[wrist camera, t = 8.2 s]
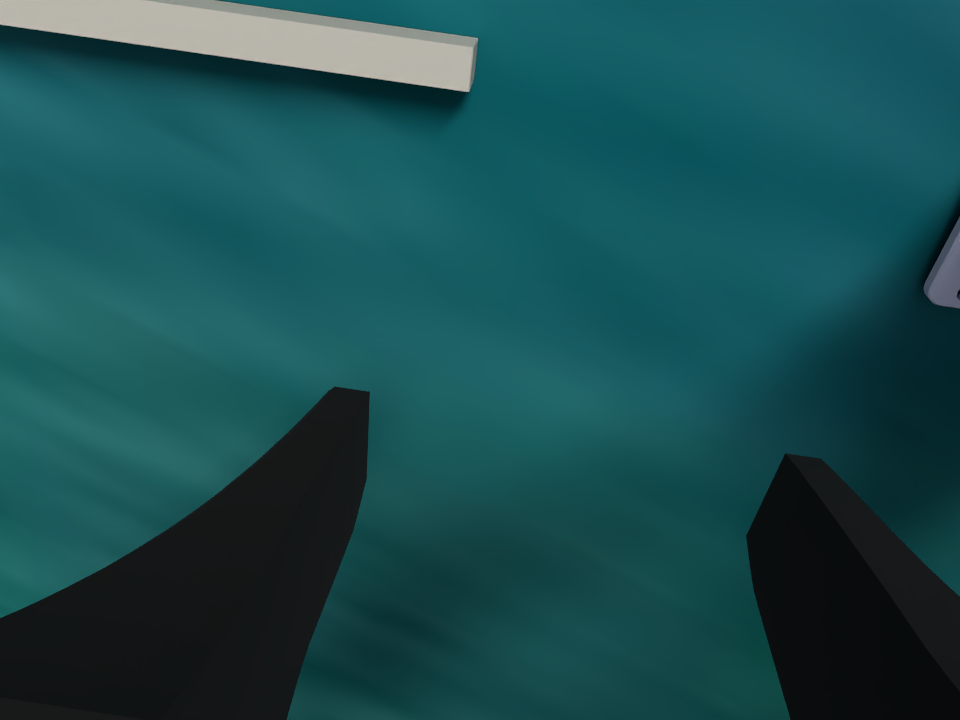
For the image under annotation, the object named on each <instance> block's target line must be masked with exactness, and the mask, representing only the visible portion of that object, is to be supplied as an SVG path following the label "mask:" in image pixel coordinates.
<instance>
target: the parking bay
mask: <svg viewBox="0 0 960 720" xmlns="http://www.w3.org/2000/svg"><path fill="white" fill-rule="evenodd" d="M0 25H7V26H14V27H21V28H28V29H35V30H41V31H48V32H55V33H62V34H69V35H76V36H83V37H90V38H97V39H104V40H111V41H118V42H125V43H132V44H139V45H145V46H152V47H159V48H166V49H173V50H180V51H187V52H194V53H201V54H208V55H215V56H222V57H229V58H236V59H243V60H249V61H256V62H263V63H270V64H277V65H284V66H291V67H298V68H305V69H312V70H319V71H326V72H333V73H340V74H347V75H353V76H360V77H367V78H374V79H381V80H388V81H395V82H402V83H409V84H416V85H423V86H430V87H437V88H444V89H451V90H457V91H464V92H469V91H470V88H471V86H472V83H473V81H474V73H475V64H476V54H477V45H478V38H474V37H467V36H460V35H453V34H446V33H439V32H432V31H425V30H418V29H411V28H404V27H397V26H390V25H383V24H376V23H369V22H362V21H355V20H348V19H341V18H334V17H327V16H320V15H313V14H306V13H299V12H292V11H285V10H278V9H271V8H265V7H258V6H251V5H244V4H237V3H230V2H223V1H216V0H0Z"/></svg>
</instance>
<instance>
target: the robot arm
mask: <svg viewBox="0 0 960 720" xmlns="http://www.w3.org/2000/svg"><path fill="white" fill-rule="evenodd" d="M959 290H960V217H959V219H958V221H957V223H956V225H955V227H954V228H953V230H952V232H951V234H950V236H949V238H948V240H947V242H946V244H945V246H944V247H943V249H942V251H941V253H940V255H939V257H938V259H937V261H936V263H935V264H934V266H933V268H932V270H931V272H930V274H929V276H928V278H927V280H926V282H925V285H924V293H925V295H926V296H927V297H928V298H929V299H930V300H931V301H932V302H933V303H934V304H937V305H940V306H947V307H954V308H960V294H959V295H957V292H958V291H959ZM369 396H370V392H367V391H360V390H353V389H347V388H340V387H334V388H332V389H331V390H329V391H328V392H327V393H326V394H325V395H324V396H323V397H322V399H321V400H320V401H319V402H318V403H317V404H316V405H315V406H314V407H313V408H312V409H311V410H310V411H309V412H308V413H307V414H306V415H305V416H304V417H303V418H302V419H301V420H300V421H299V422H298V423H297V424H296V425H295V426H294V427H293V428H292V429H291V430H290V431H289V432H288V433H287V434H286V435H285V436H284V437H283V438H282V439H281V440H279V441H278V442H277V443H276V444H275V445H274V446H273V447H272V448H271V449H270V450H269V451H268V452H266V453H265V454H264V455H263V456H262V457H261V458H260V459H259V460H258V461H256V462H255V463H254V464H253V465H252V466H251V467H249V468H248V469H247V470H246V471H245V472H243V473H242V474H241V475H240V476H239V477H237V478H236V479H235V480H234V481H232V482H231V483H230V484H229V485H228V486H226V487H225V488H224V489H223V490H222V491H220V492H219V493H218V494H216V495H215V496H214V497H212V498H211V499H210V500H208V501H207V502H206V503H205V504H203V505H202V506H200V507H199V508H198V509H196V510H195V511H194V512H192V513H191V514H189V515H188V516H186V517H185V518H184V519H182V520H181V521H179V522H178V523H176V524H175V525H173V526H172V527H170V528H169V529H167V530H166V531H164V532H163V533H161V534H160V535H158V536H156V537H155V538H153V539H152V540H150V541H148V542H147V543H145V544H144V545H142V546H140V547H139V548H137V549H136V550H134V551H132V552H131V553H129V554H127V555H126V556H124V557H122V558H121V559H119V560H117V561H116V562H114V563H112V564H110V565H109V566H107V567H105V568H103V569H101V570H99V571H97V572H96V573H94V574H92V575H90V576H88V577H86V578H84V579H82V580H80V581H78V582H76V583H74V584H72V585H71V586H69V587H67V588H65V589H63V590H61V591H59V592H56V593H54V594H52V595H50V596H48V597H46V598H44V599H42V600H40V601H38V602H36V603H34V604H31V605H29V606H27V607H25V608H23V609H21V610H18V611H16V612H14V613H11V614H9V615H7V616H4V617H2V618H0V720H286V719H287V716H288V712H289V708H290V705H291V701H292V698H293V694H294V691H295V687H296V684H297V680H298V677H299V673H300V670H301V666H302V663H303V661H304V658H305V655H306V652H307V649H308V646H309V643H310V640H311V638H312V635H313V633H314V630H315V628H316V625H317V622H318V620H319V617H320V615H321V612H322V610H323V607H324V605H325V602H326V599H327V597H328V594H329V592H330V589H331V587H332V584H333V582H334V579H335V576H336V574H337V571H338V569H339V566H340V564H341V561H342V558H343V556H344V553H345V551H346V548H347V545H348V543H349V540H350V537H351V535H352V532H353V529H354V525H355V522H356V518H357V514H358V510H359V507H360V503H361V499H362V495H363V491H364V487H365V483H366V478H367V450H368V423H369ZM746 537H747V545H748V553H749V561H750V569H751V575H752V581H753V588H754V593H755V596H756V600H757V604H758V607H759V611H760V615H761V618H762V622H763V625H764V629H765V632H766V636H767V639H768V643H769V646H770V650H771V653H772V657H773V660H774V664H775V667H776V670H777V674H778V677H779V681H780V684H781V688H782V691H783V695H784V698H785V702H786V705H787V708H788V712H789V715H790V720H960V597H959V596H958V595H957V594H956V593H955V592H954V591H953V590H952V589H951V588H949V587H948V586H947V585H946V584H945V583H944V582H943V581H942V580H941V579H940V578H939V577H938V576H937V575H936V574H934V573H933V572H932V571H931V570H930V569H929V568H928V567H927V566H926V565H925V564H924V563H923V562H922V561H921V560H920V559H919V558H918V557H917V556H916V555H915V554H914V553H913V552H912V551H911V550H910V549H909V548H908V547H907V546H906V545H905V544H904V543H903V542H902V541H901V540H900V539H899V538H898V537H897V536H896V535H895V534H894V533H893V532H892V531H891V530H890V529H889V528H888V527H887V526H886V525H885V523H884V522H883V521H882V520H881V519H880V518H879V517H878V516H877V515H876V514H875V513H874V512H873V511H872V510H871V509H870V508H869V507H868V506H867V505H866V504H865V503H864V502H863V501H862V500H861V498H860V497H859V496H858V495H857V494H856V493H855V492H854V491H853V490H852V489H851V488H850V487H849V486H848V485H847V484H846V483H845V482H844V481H843V480H842V479H841V478H840V477H839V476H838V475H837V474H836V473H835V472H834V471H833V470H832V469H831V468H830V467H829V466H828V465H827V464H826V463H825V462H824V461H823V460H822V459H819V458H812V457H805V456H798V455H792V454H785V455H784V457H783V460H782V462H781V464H780V466H779V468H778V470H777V472H776V474H775V476H774V478H773V481H772V483H771V485H770V487H769V489H768V491H767V493H766V495H765V497H764V499H763V502H762V504H761V506H760V508H759V510H758V512H757V514H756V516H755V518H754V521H753V523H752V525H751V527H750V529H749V531H748V533H747V535H746Z"/></svg>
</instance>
